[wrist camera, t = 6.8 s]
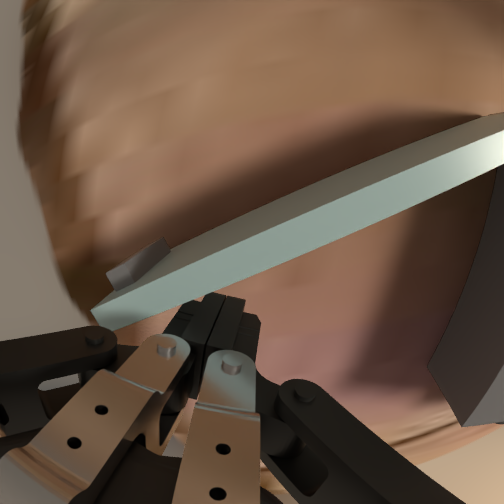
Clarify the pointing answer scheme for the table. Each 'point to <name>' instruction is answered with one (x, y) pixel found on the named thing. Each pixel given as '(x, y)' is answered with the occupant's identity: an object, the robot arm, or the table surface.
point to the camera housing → (477, 330)
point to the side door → (299, 222)
